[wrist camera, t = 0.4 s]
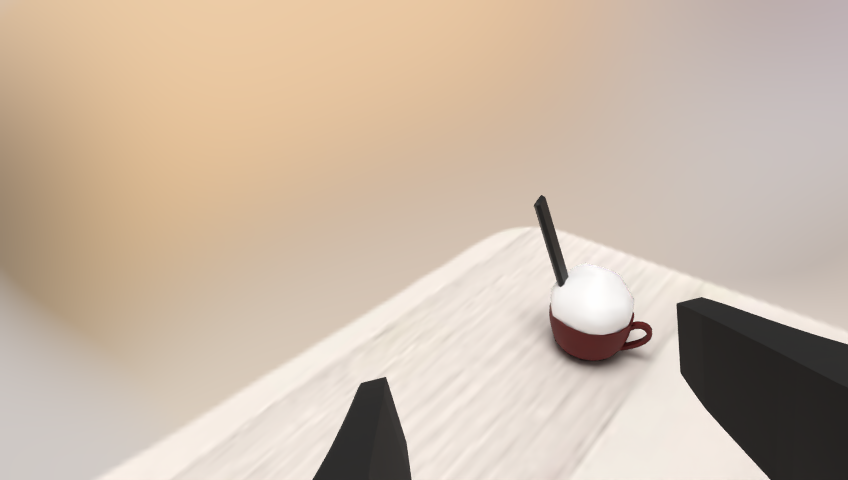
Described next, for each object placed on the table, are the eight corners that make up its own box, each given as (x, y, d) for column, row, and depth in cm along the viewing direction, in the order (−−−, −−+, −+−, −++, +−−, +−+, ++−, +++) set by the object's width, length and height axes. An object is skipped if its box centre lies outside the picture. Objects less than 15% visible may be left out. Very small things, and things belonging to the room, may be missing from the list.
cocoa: (652, 356, 41) (695, 223, 35) (607, 395, 38) (646, 254, 32) (555, 300, 47) (577, 178, 41) (508, 328, 44) (525, 200, 38)
